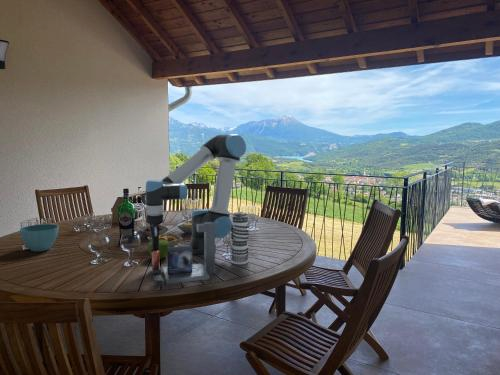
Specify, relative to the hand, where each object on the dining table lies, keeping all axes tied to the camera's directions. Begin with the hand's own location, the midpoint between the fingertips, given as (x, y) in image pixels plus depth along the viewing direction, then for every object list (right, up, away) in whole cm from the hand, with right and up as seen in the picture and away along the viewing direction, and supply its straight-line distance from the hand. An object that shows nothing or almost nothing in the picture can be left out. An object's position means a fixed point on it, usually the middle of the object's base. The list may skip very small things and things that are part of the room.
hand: (155, 264), depth 160 cm
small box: (+13, -2, -7) cm, 15 cm away
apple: (-3, -1, +17) cm, 18 cm away
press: (+15, -4, -7) cm, 17 cm away
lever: (+2, -2, -5) cm, 6 cm away
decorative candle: (+39, -2, +14) cm, 41 cm away
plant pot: (-71, +1, +29) cm, 76 cm away
